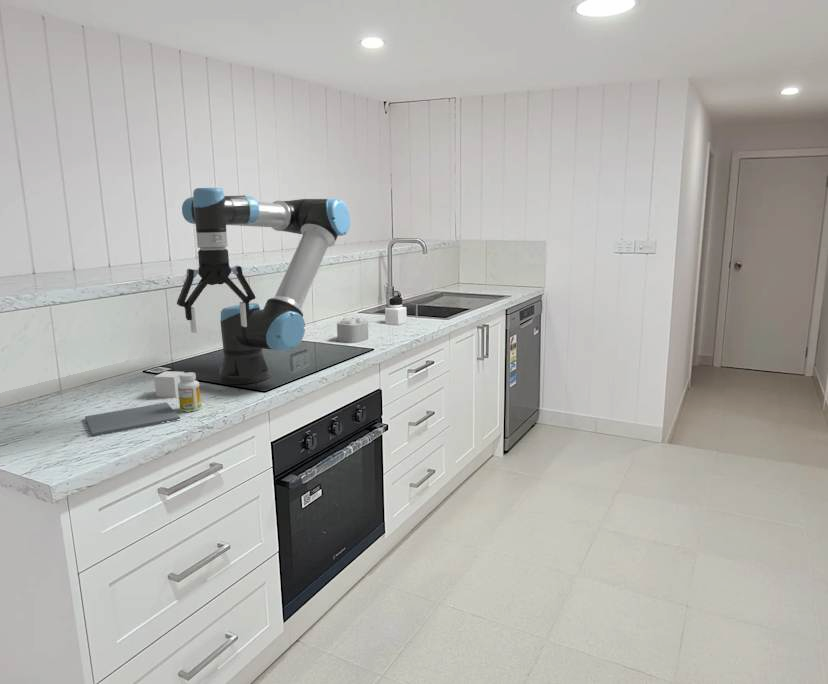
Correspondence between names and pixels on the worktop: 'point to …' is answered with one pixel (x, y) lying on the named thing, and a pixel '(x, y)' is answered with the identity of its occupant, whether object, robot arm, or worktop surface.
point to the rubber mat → (130, 418)
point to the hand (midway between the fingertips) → (219, 329)
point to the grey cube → (167, 384)
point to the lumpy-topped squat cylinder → (352, 330)
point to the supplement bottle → (189, 392)
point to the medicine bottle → (395, 312)
